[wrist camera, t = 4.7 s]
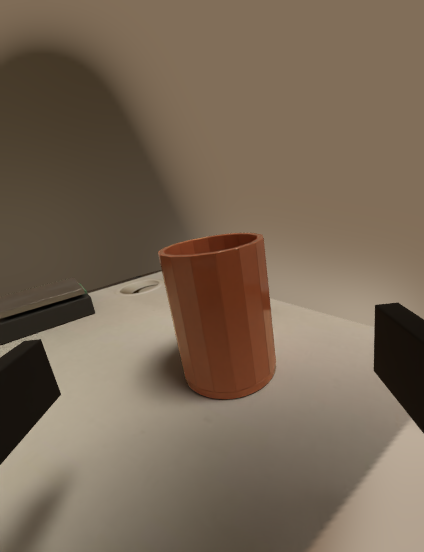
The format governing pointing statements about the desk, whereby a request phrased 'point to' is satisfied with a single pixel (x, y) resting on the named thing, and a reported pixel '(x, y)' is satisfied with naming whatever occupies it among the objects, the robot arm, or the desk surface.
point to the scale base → (45, 317)
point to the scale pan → (39, 296)
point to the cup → (221, 313)
